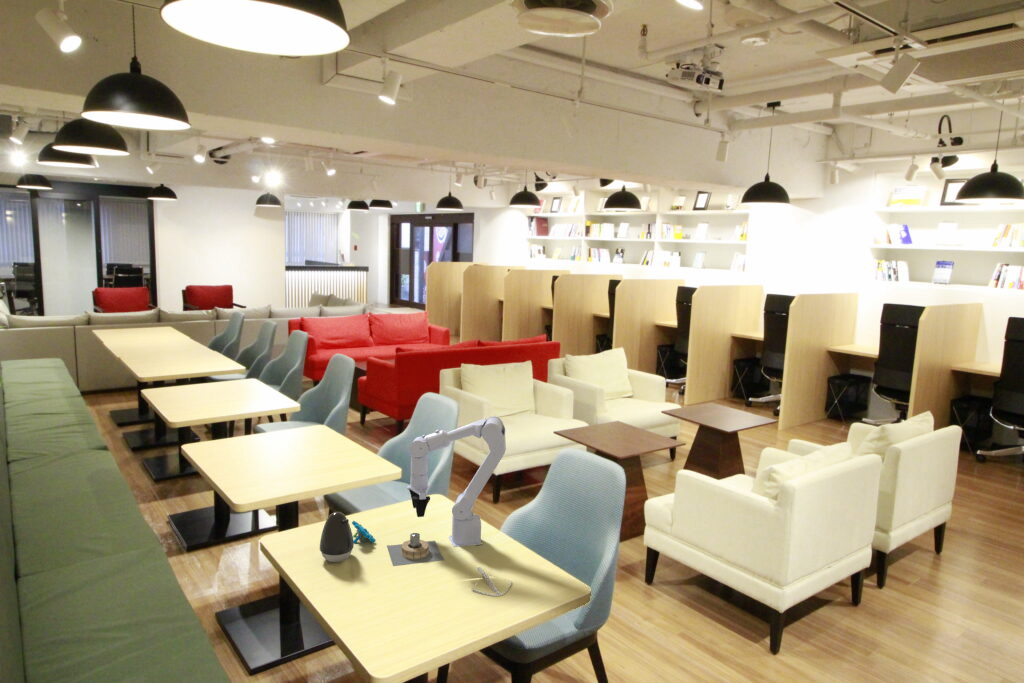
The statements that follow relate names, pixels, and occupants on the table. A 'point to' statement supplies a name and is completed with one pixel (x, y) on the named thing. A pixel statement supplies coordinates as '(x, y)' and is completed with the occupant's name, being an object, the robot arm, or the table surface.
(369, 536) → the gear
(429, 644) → the table surface
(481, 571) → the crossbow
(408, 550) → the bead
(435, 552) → the mat
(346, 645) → the table surface
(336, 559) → the pump dispenser
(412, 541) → the peg
